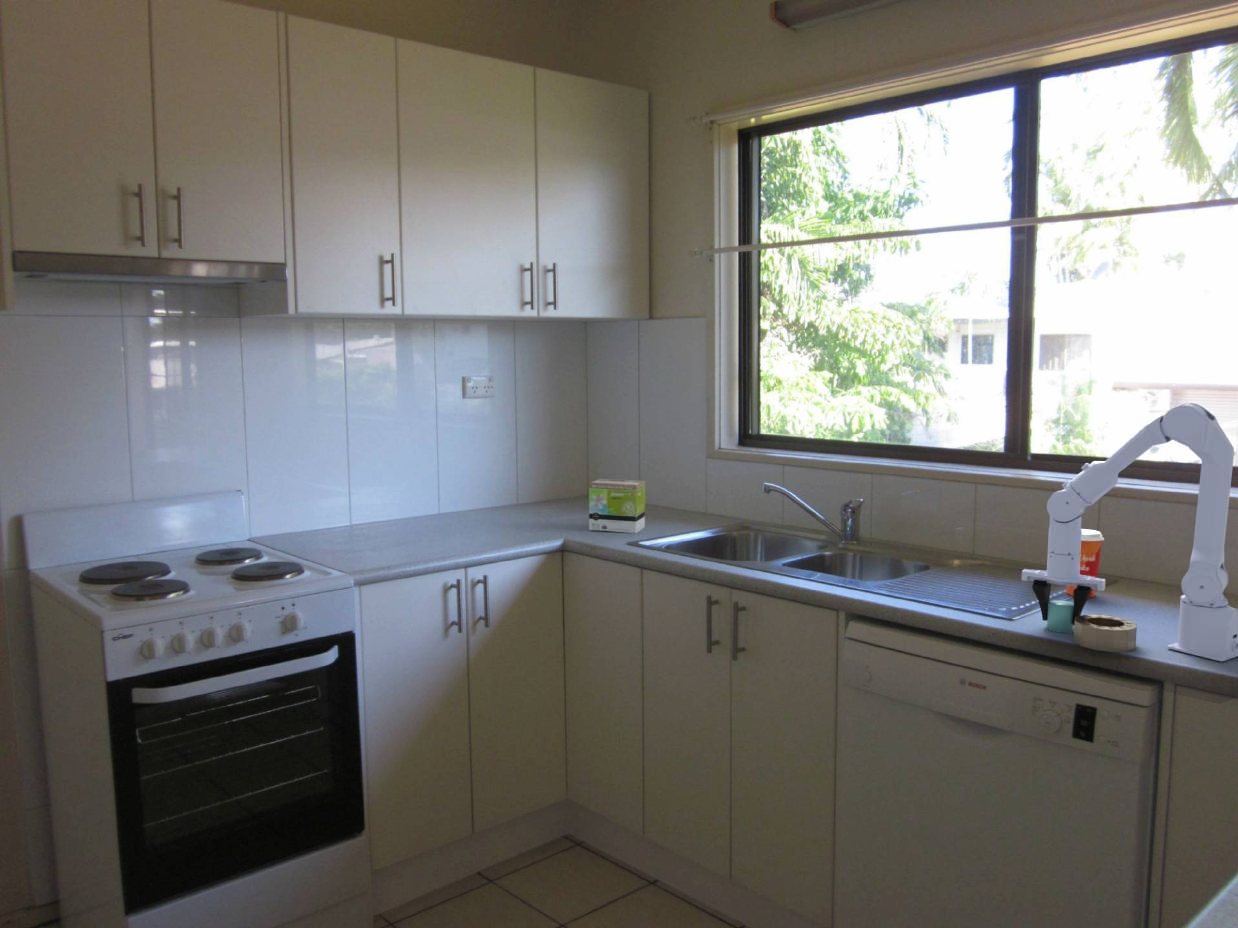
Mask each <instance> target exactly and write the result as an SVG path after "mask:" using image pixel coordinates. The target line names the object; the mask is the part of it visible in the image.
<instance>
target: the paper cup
mask: <svg viewBox="0 0 1238 928" xmlns="http://www.w3.org/2000/svg"><path fill="white" fill-rule="evenodd" d="M1081 530H1082V534H1081V555H1080V575H1085V576H1090V577H1095V578H1099V577H1098V576H1099V575H1098V574H1099V568H1100V560H1101V559H1100V558H1101V551H1102V550H1101V548H1102V541H1105V538H1104V537H1103V534H1102V532H1101V531H1098V530H1095V529H1087V528H1081ZM1076 588H1077V587H1074V586H1067V585H1066V594H1067V593H1068V594H1070V595H1069V596H1072V597H1074V594H1073V591H1074V590H1075V589H1076ZM1096 591H1097V589H1093V590H1092V592H1091V594H1090V595H1089V597H1088V599H1089V598H1090V599H1091V598H1095V596H1096ZM1068 594H1067V595H1068Z"/></svg>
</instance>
